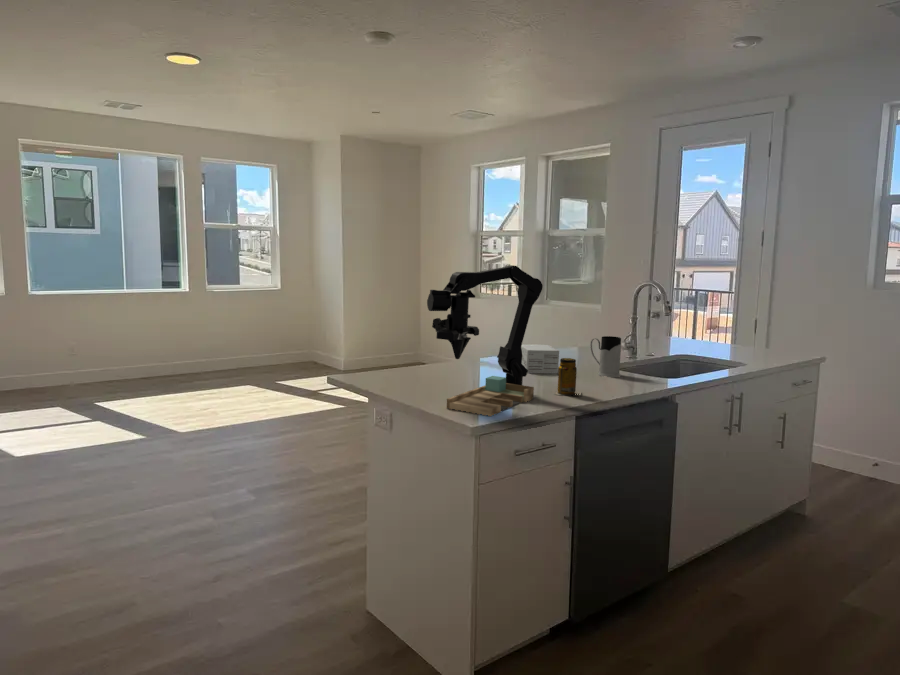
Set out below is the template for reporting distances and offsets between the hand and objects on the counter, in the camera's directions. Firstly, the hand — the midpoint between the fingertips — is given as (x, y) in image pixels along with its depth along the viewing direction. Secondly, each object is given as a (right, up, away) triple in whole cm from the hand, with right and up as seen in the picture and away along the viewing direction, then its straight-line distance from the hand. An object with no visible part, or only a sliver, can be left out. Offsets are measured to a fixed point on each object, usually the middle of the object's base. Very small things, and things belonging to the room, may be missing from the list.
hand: (457, 358), depth 209 cm
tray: (+11, -14, -8) cm, 19 cm away
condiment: (+38, -13, +9) cm, 41 cm away
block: (+13, -10, +3) cm, 17 cm away
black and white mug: (+59, -8, +47) cm, 76 cm away
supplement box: (+33, -6, +53) cm, 63 cm away
